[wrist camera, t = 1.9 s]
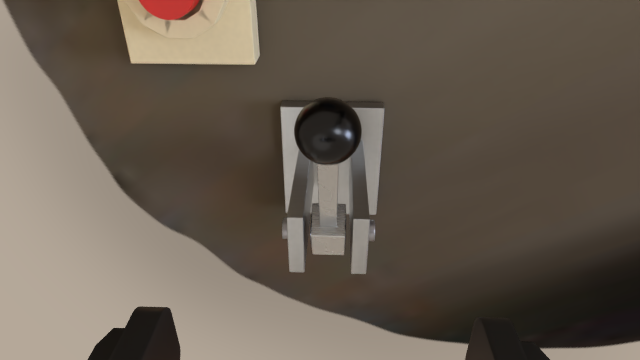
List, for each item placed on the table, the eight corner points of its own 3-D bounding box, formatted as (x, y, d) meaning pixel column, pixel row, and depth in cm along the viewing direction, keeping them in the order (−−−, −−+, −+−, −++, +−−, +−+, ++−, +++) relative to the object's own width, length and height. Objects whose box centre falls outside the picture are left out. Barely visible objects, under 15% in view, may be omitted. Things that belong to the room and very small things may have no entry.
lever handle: (294, 82, 21) (289, 135, 19) (363, 83, 21) (364, 137, 19) (306, 217, 32) (304, 260, 30) (352, 218, 32) (352, 261, 30)
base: (282, 100, 36) (258, 177, 26) (383, 101, 36) (399, 180, 25) (286, 204, 41) (268, 302, 31) (375, 206, 41) (386, 305, 31)
